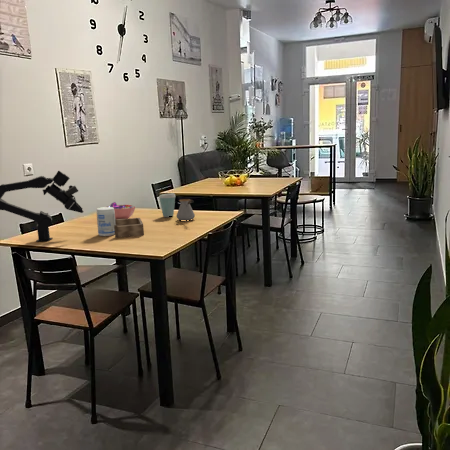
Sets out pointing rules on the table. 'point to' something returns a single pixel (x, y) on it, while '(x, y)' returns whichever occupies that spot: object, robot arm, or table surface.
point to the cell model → (122, 210)
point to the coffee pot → (185, 210)
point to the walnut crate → (128, 227)
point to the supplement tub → (106, 221)
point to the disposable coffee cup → (167, 204)
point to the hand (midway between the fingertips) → (82, 210)
